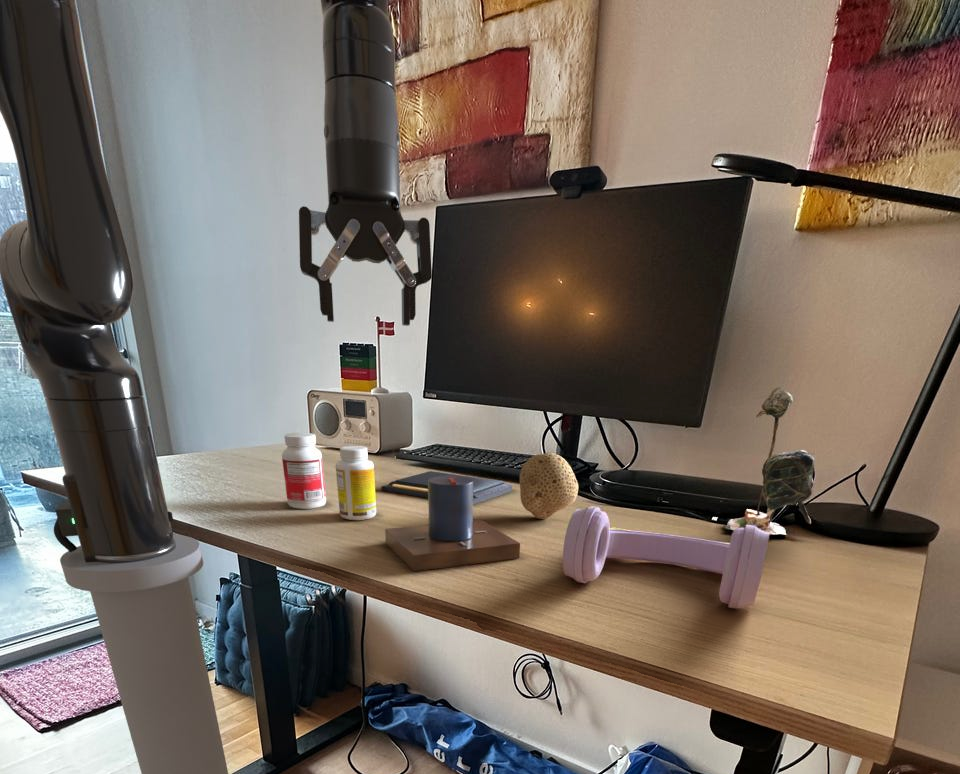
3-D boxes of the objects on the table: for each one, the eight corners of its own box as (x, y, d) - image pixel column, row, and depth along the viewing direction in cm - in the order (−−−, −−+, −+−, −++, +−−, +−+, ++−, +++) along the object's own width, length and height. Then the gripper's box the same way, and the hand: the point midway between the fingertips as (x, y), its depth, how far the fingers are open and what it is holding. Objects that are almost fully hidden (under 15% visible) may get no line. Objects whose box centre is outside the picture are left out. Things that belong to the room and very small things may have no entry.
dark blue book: (515, 480, 111) (470, 494, 99) (515, 490, 112) (470, 506, 100) (429, 467, 121) (378, 479, 109) (429, 477, 121) (379, 490, 110)
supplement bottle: (382, 514, 94) (379, 446, 90) (365, 522, 89) (360, 451, 85) (351, 510, 96) (346, 444, 91) (332, 518, 91) (326, 449, 87)
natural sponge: (578, 514, 97) (584, 450, 92) (570, 528, 89) (577, 459, 85) (523, 509, 99) (526, 446, 94) (511, 523, 91) (514, 455, 87)
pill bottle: (299, 499, 102) (292, 431, 97) (333, 502, 101) (327, 433, 96) (280, 507, 96) (271, 435, 92) (315, 510, 95) (307, 438, 90)
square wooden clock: (414, 571, 71) (413, 553, 70) (385, 543, 80) (384, 527, 79) (519, 558, 76) (520, 541, 75) (480, 533, 86) (481, 518, 85)
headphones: (562, 520, 62) (609, 466, 78) (559, 603, 68) (603, 537, 83) (768, 547, 55) (775, 482, 70) (746, 637, 61) (757, 558, 76)
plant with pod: (800, 546, 83) (841, 390, 75) (717, 531, 89) (746, 386, 80) (810, 533, 90) (849, 388, 81) (731, 520, 95) (760, 384, 87)
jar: (426, 530, 79) (425, 473, 76) (468, 528, 80) (469, 473, 77) (431, 542, 74) (430, 482, 71) (476, 540, 75) (477, 481, 72)
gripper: (425, 165, 67) (425, 328, 74) (292, 149, 64) (305, 321, 71) (436, 144, 60) (435, 325, 67) (288, 125, 57) (303, 317, 64)
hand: (368, 323), depth 69 cm, fingers open, 8 cm apart
